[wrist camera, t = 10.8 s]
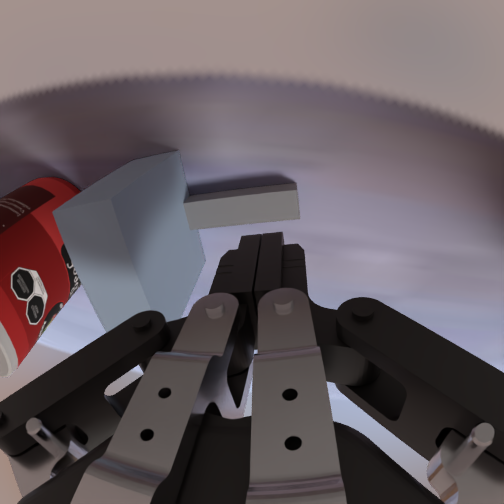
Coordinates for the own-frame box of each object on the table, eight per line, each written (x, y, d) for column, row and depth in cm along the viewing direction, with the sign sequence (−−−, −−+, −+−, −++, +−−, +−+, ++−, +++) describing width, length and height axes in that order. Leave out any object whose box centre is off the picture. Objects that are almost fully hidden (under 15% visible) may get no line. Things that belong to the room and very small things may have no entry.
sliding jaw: (290, 133, 15) (290, 171, 9) (303, 252, 19) (307, 346, 12) (126, 161, 17) (45, 213, 11) (157, 264, 20) (107, 345, 14)
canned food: (79, 288, 23) (3, 391, 13) (14, 221, 20) (-79, 300, 11) (126, 231, 19) (24, 353, 10) (48, 150, 17) (-83, 223, 8)
